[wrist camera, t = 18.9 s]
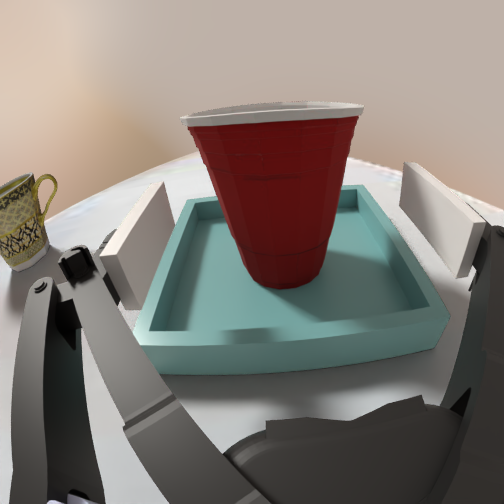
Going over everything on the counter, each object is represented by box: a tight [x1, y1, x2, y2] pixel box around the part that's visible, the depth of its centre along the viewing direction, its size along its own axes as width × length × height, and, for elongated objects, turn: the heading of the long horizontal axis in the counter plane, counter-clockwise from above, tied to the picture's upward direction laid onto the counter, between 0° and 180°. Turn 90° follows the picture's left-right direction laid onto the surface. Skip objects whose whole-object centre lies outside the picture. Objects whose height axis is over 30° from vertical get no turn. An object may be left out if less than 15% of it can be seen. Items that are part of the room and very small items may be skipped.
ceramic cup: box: [0, 173, 57, 272], centre depth 28 cm, size 13×10×10 cm
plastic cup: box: [180, 101, 364, 289], centre depth 19 cm, size 11×11×12 cm
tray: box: [133, 185, 450, 375], centre depth 22 cm, size 18×18×3 cm
